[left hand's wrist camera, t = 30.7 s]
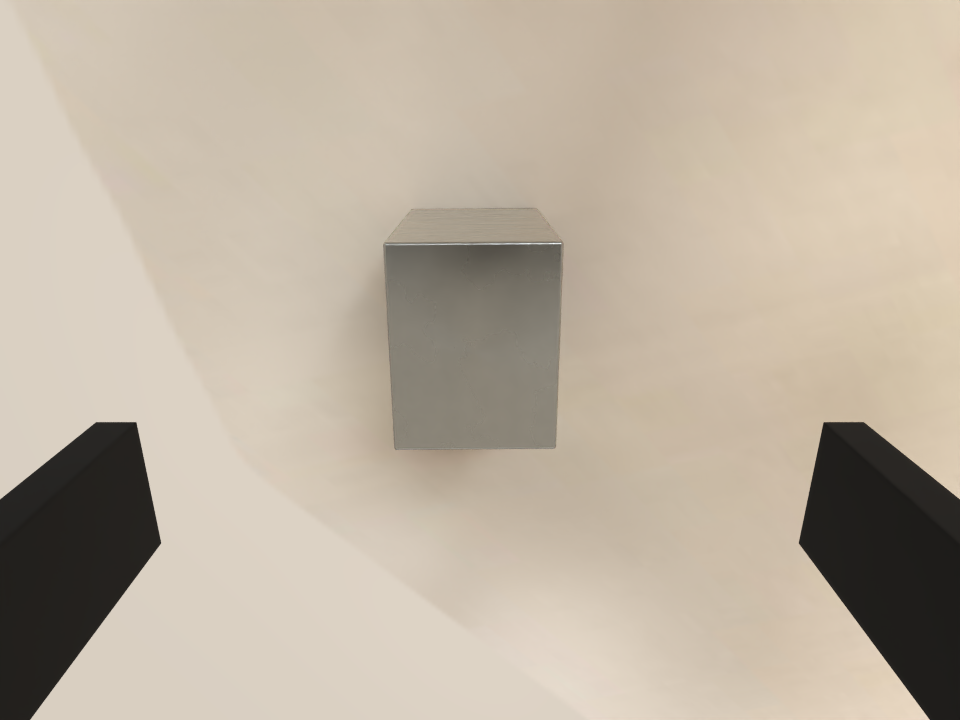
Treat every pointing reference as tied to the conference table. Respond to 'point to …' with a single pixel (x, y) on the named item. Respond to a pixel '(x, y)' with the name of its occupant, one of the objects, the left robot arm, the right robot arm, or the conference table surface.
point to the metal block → (474, 329)
